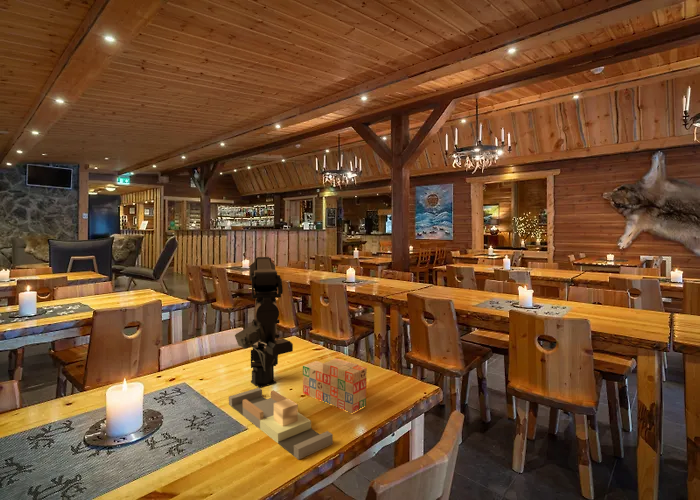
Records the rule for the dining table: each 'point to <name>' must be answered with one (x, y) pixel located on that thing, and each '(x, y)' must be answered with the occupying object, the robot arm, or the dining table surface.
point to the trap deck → (291, 436)
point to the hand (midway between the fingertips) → (266, 370)
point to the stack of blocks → (336, 383)
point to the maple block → (285, 412)
